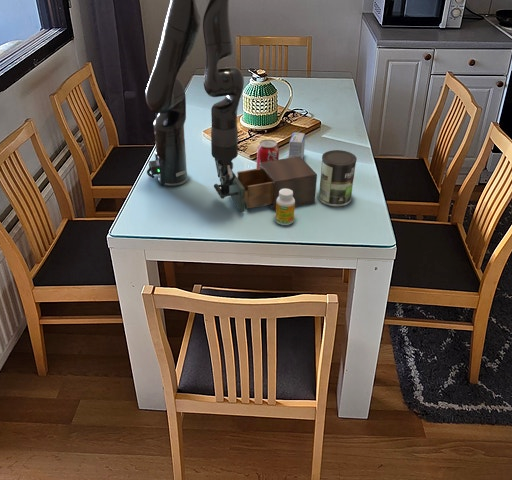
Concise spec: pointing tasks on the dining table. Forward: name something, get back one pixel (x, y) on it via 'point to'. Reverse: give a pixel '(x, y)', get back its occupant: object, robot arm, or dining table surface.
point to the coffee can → (337, 177)
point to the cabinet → (291, 179)
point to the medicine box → (297, 145)
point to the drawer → (249, 189)
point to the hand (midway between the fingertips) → (225, 193)
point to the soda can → (267, 151)
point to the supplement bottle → (285, 207)
